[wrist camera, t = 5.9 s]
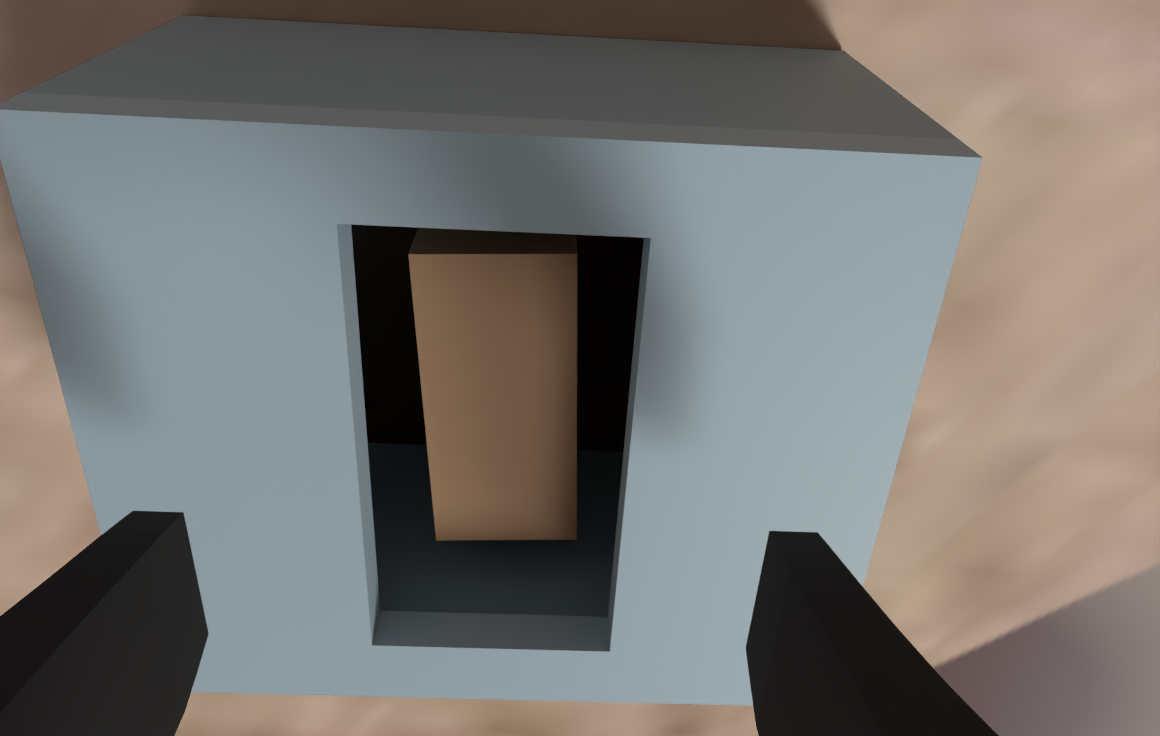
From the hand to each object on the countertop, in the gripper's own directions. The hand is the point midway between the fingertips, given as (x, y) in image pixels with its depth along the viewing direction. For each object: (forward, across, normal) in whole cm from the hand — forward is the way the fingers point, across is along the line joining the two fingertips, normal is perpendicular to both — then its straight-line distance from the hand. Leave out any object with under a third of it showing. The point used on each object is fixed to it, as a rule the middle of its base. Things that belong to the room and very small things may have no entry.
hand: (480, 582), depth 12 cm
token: (+9, 0, 0) cm, 9 cm away
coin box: (+9, 0, 0) cm, 9 cm away
